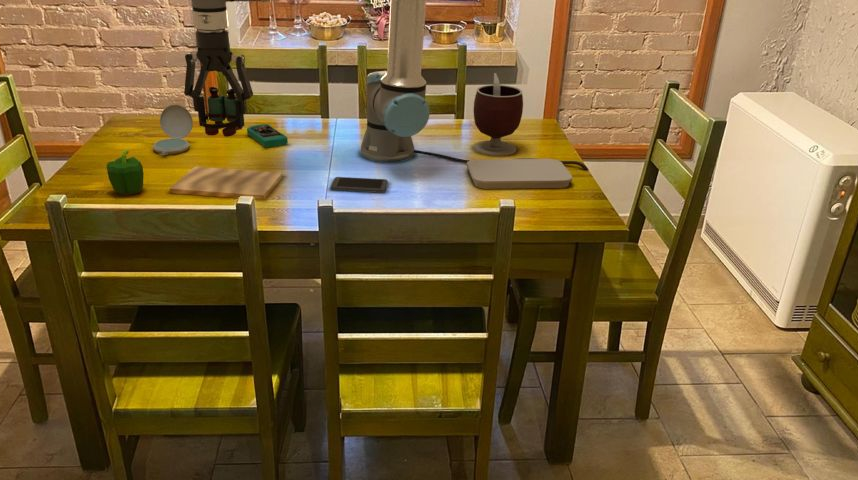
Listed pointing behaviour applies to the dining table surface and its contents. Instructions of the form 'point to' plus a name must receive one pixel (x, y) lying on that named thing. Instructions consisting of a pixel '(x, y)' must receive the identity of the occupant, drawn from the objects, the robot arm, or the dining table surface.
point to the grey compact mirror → (174, 130)
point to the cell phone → (359, 184)
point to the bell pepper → (126, 174)
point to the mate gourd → (497, 116)
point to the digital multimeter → (267, 135)
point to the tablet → (518, 173)
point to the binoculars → (221, 113)
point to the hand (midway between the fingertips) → (222, 125)
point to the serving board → (227, 182)
